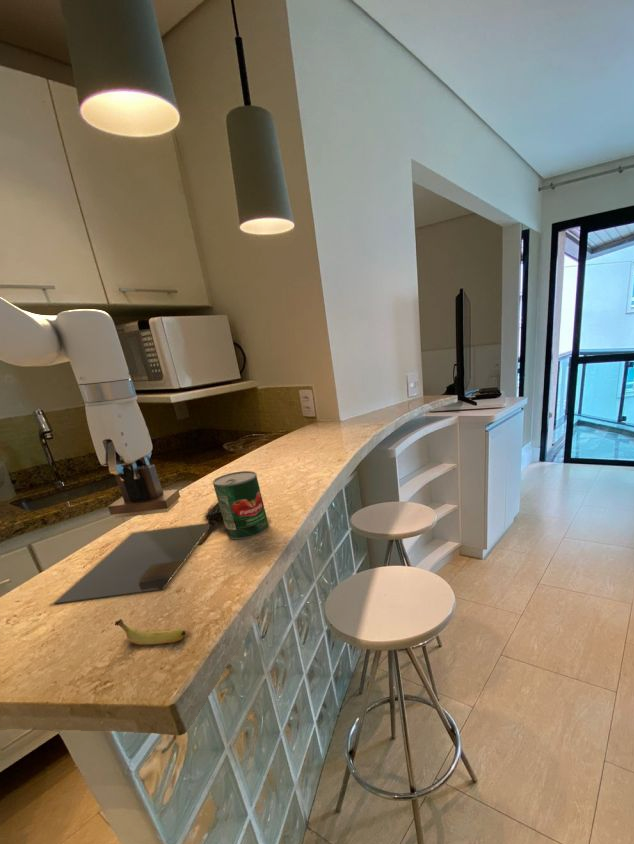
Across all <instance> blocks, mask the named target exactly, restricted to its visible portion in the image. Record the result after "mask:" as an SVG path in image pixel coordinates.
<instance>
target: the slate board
mask: <svg viewBox="0 0 634 844" xmlns="http://www.w3.org/2000/svg"><path fill="white" fill-rule="evenodd" d="M213 529H214V524H213V523H212V522H211V523H203V524H194V525H186V526H179V527H170V528H163V529H155V530H147V531H141V532H133V533H130V535H129V536H128V537H127V538H125V539H124V541H122V542H120V544H119V545H118V546H117V547H115V549H113V550H112V551H111V552H110V553H109V554H107V555H106V557H104V558H103V559H102V560H101V561H100V562H99V563H97V565H95V566H94V567H93V568H92V569H90V570H89V572H87V574H84V576H83V577H82V578H81V579H80V580H78V581H77V582H76V583H75V584H74V585H73V586H71V587H70V589H68V590H67V591H66V592H65V593H64V594H63V595H61V597H59V598H58V599H56V601H54V603H53V604H54V605H59V604H67V603H75V602H81V601H89V600H96V599H104V598H111V597H118V596H126V595H135V594H142V593H148V592H149V593H150V592H158V591H164V590H165V589H166V587H167V586H168V585H169V584H170V582H171V581H172V579H173V578H174V577H175V575H176V574H177V572H179V570H180V568H181V567H182V566H183V565H184V563H185V561H187V559H188V558H189V556H190V555H191V554H192V552H193V551H195V548H196V547H199V546H202V544H203V543H204V541H205V540H206V539H207V537H208V536H209V535H210V533H211V532H212V530H213Z"/></svg>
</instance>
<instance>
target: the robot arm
mask: <svg viewBox="0 0 634 844" xmlns="http://www.w3.org/2000/svg"><path fill="white" fill-rule="evenodd" d="M0 361H1V362H4V363H6V364H10V365H12V366H16V367H49V366H54V365H59V364H63V363H68V362H69V364H70V366H71V369H72V372H73V374H74V377H75V380H76V382H77V385H78V388H79V390H80V393H81V396H82V399H83V402H84V405H85V407H84V408H85V415H86V416H85V417H86V421H87V426H88V430H89V433H90V437H91V441H92V445H93V448H94V450H95V453H96V454H95V455H96V456H97V459H98V462H99V464H100V465H101V466H102V467H103V466H104V467H108V471H109V473H110V474H112V475H115V474H116V475H118V476H119V477H120V479H121V481H123V482H124V485H125V488H126V491H127V493H128V496H129V499H130V501H131V502H135V501H145V500H148V499H149V494H148V491H147V488H146V485H145V482H144V479H143V478H140V475H139V471H138V468H137V466H146V465H151V463H150V461H151V460H150V459H151V457H152V453H153V452H152V450H153V443H152V439H151V436H150V432H149V429H148V426H147V423H146V420H145V418H144V416H143V413H142V411H141V409H140V406H139V404H138V402H137V400H138V399H139V398H138V395H137V392H136V390H135V389H136V388H135V386H134V383H133V379H132V377H131V374H130V370H129V367H128V364H127V361H126V357H125V354H124V351H123V348H122V344H121V340H120V338H119V335H118V331H117V329H116V325H115V322H114V320H113V318H112V316H111V315H110V314H109V313H108V312H106V311H104V310H101V309H84V308H83V309H70V310H64V311H61V312H59V313H57V315H44V314H37V313H32V312H30V311H27V310H23V309H21V308H20V307H18V306H16V305H14V304H12V303H11V302H9V301H7V300H6V299H4V298H2V297H1V296H0ZM122 460H123V461H122ZM128 467H130V468H131V470H130V469H129V468H128Z"/></svg>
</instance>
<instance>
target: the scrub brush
mask: <svg viewBox="0 0 634 844" xmlns="http://www.w3.org/2000/svg"><path fill="white" fill-rule="evenodd" d="M127 467H128V468H129V469H130V470H131V468H130V466H127ZM137 468H138V471H139V475H140V478H143V479H144V482H145V485H146V488H147V491H148V494H149V499H148V500H145V501H135V502H131V501H130V499H129V496H128V493H127V491H126V488H125V485H124V482H123V481H121V479H120V477H119V476H118V475H116V474H114V477H115V478H116V482H117V486H118V488H119V491H120V495H121V497H120V498H118V499H117V500H115V501H113V502H112V503H111V504H110V505H107V509H108V511H109V514H110V515H111V516H112V515H113V516H114V518H115V519H120V518H128V517H138V516H146V515H156V514H165V513H168V512H170V511H171V510H172V509H173V508H174V507H175V506H176V505H177V504H178V503H179V502H180V501H179V499H181V494H180V492H179V489H178V488H177V489H167V490H163V488H162V484H161V481H160V478H159V475H158V472H157V469H156V465H155V464H150V465H146V466H137Z"/></svg>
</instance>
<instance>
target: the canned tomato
mask: <svg viewBox="0 0 634 844" xmlns="http://www.w3.org/2000/svg"><path fill="white" fill-rule="evenodd" d="M259 484H260V483H259V481H258V476H257V473H256V472H255V471H251V470H241V471H235V472H230V473H226V474H222V475H220V476H218V477H215V478H214V479H213V480H212V485H213V489H214V492H215V495H216V500H217V499H218V500H217V501H218V502H219V506H220V509H221V513H222V516H223V517H222V520H223V524H224V527H225V530H226V533H227V537H228V538H229V539H231V540H238V541H239V540H246V539H247V540H248V539H252V538H255V537H258V536H260V535H262V534H264V533H265V532H267V531H268V530H269V527H270V524H269V521H268V518H267V513H266V509H265V505H264V501H263V497H262V496H263V495H262V493H261V488H260V487H261V486H260V485H259ZM218 502H217V503H218Z"/></svg>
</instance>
